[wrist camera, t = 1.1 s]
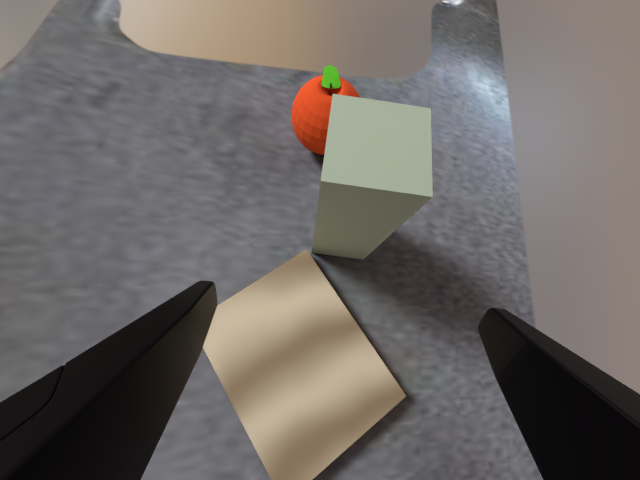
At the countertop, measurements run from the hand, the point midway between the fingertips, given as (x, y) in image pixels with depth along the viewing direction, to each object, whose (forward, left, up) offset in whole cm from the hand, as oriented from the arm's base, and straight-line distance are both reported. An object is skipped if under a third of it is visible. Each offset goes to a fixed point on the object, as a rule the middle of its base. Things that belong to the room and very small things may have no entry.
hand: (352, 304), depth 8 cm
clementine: (+15, -11, -14) cm, 24 cm away
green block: (+5, -6, -14) cm, 16 cm away
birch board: (-2, +4, -14) cm, 15 cm away
